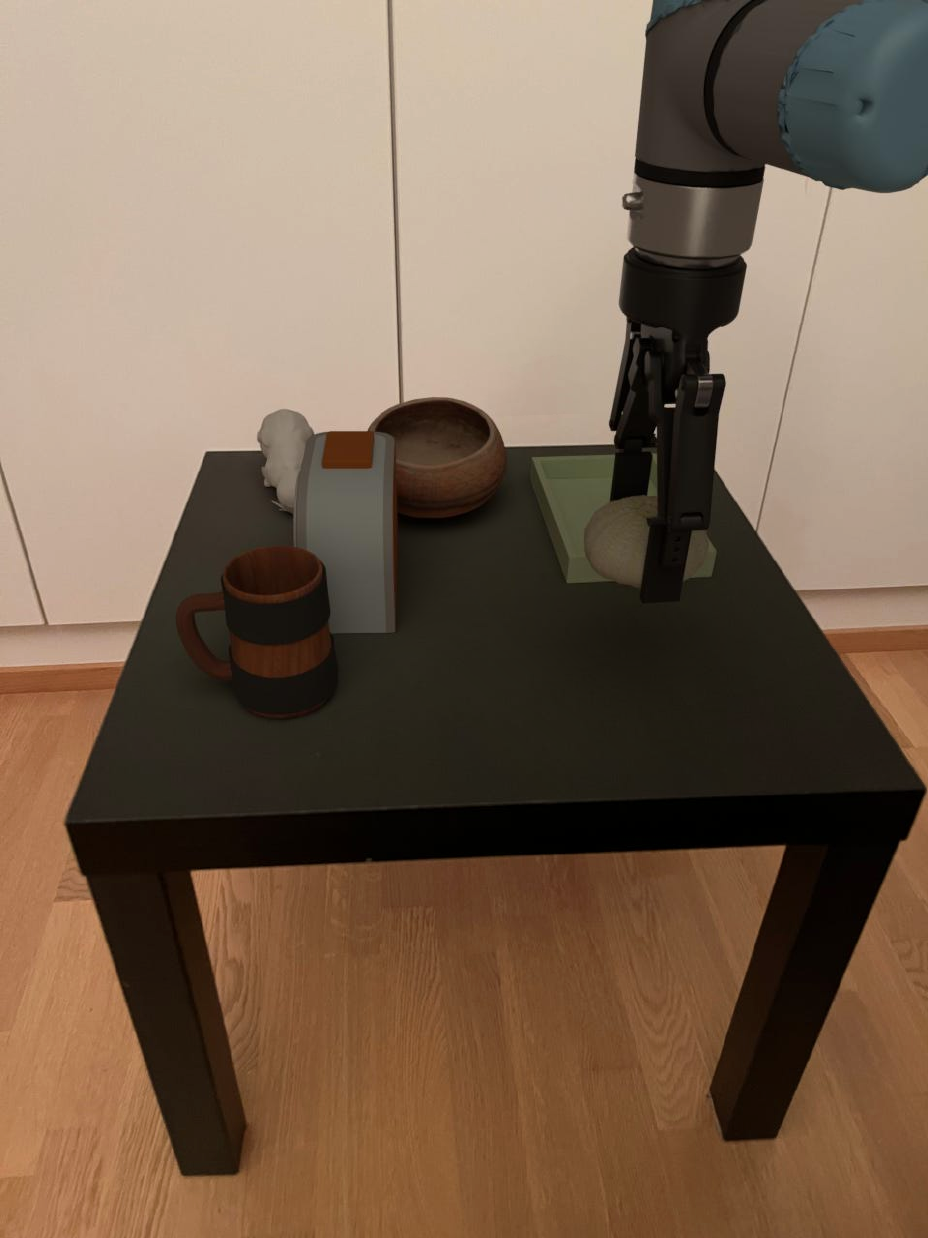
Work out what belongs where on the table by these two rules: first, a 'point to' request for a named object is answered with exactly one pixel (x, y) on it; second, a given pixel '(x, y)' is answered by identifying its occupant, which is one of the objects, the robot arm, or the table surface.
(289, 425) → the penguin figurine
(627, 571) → the sea urchin shell
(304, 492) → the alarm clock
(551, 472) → the tray
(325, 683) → the mug
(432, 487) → the bowl
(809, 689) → the table surface
